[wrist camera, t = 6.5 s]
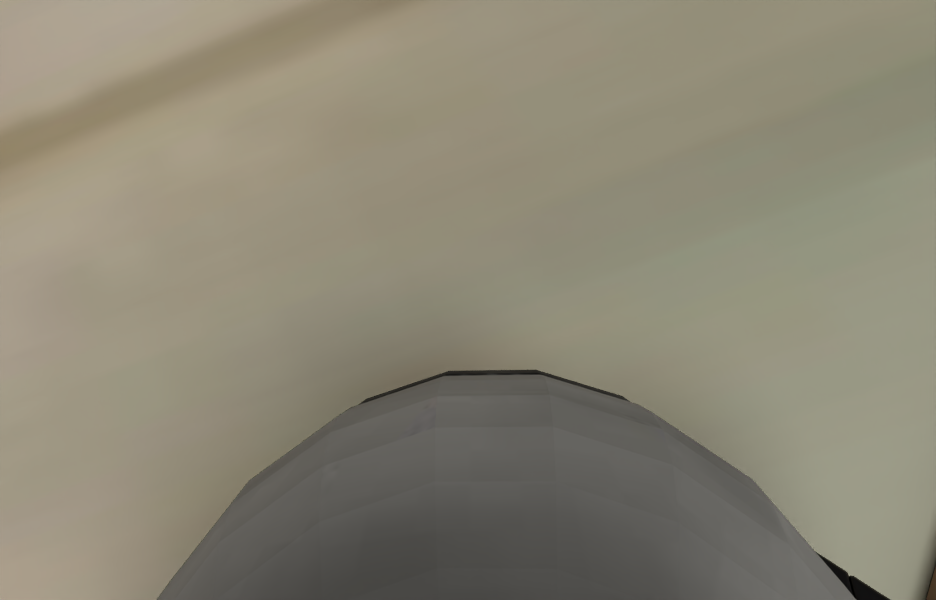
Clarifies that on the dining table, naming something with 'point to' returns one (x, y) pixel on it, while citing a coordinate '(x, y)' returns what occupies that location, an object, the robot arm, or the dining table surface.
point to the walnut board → (932, 588)
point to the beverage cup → (502, 507)
